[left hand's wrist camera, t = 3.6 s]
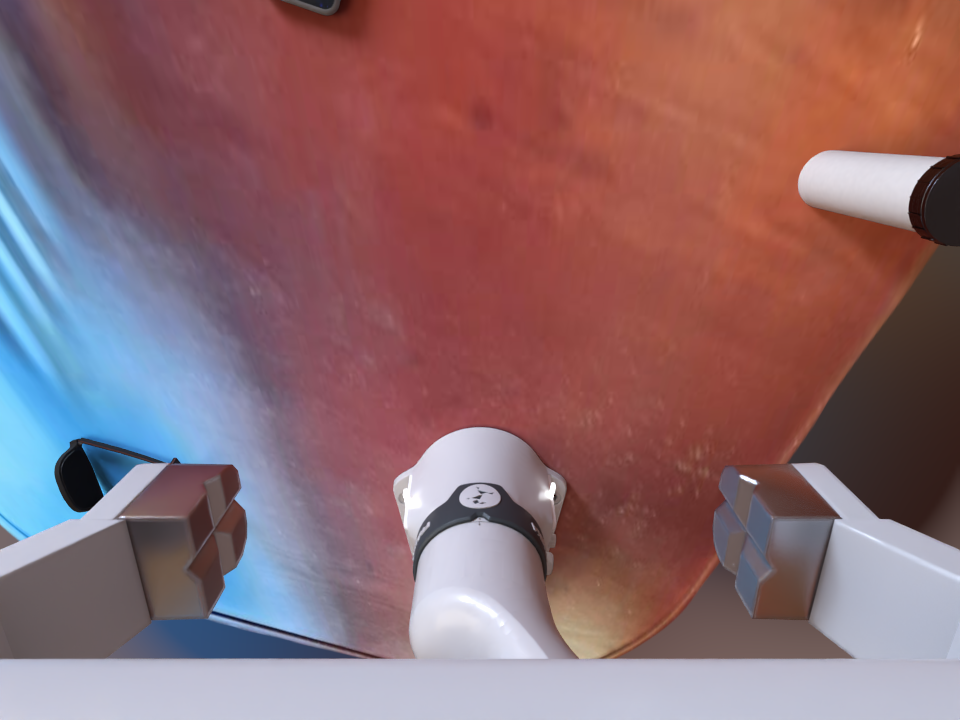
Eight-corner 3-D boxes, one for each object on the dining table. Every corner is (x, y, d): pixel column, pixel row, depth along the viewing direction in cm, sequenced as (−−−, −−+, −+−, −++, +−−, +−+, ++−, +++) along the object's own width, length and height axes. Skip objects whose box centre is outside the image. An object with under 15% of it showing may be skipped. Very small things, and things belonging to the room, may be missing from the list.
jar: (786, 194, 55) (908, 220, 39) (819, 140, 53) (960, 146, 38) (832, 217, 56) (970, 252, 40) (865, 164, 54) (1023, 180, 38)
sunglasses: (257, 530, 68) (241, 559, 63) (144, 563, 70) (120, 594, 65) (185, 402, 62) (161, 424, 58) (64, 441, 64) (31, 466, 59)
